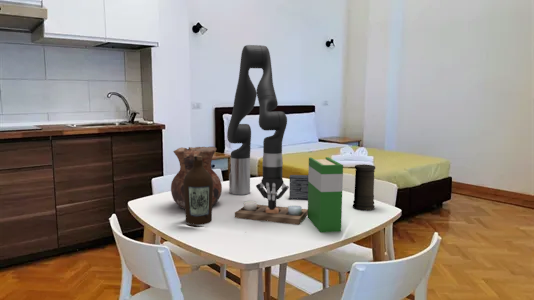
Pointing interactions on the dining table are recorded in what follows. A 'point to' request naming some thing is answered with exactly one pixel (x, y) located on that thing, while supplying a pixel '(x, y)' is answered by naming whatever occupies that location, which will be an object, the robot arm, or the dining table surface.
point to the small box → (298, 187)
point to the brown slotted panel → (271, 215)
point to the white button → (250, 206)
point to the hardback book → (325, 194)
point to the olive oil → (198, 194)
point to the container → (364, 187)
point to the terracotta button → (272, 211)
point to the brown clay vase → (186, 165)
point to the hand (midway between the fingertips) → (272, 209)
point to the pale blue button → (295, 210)
